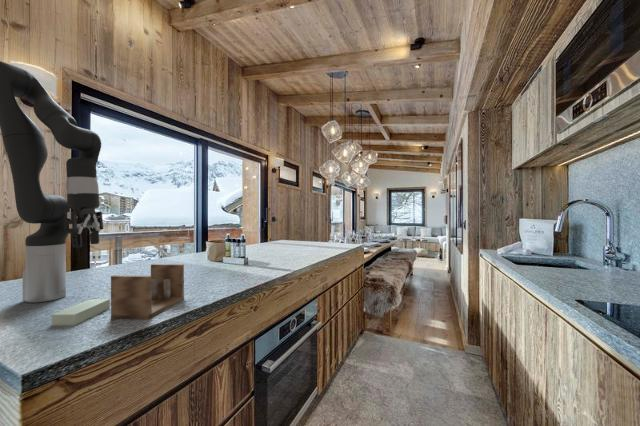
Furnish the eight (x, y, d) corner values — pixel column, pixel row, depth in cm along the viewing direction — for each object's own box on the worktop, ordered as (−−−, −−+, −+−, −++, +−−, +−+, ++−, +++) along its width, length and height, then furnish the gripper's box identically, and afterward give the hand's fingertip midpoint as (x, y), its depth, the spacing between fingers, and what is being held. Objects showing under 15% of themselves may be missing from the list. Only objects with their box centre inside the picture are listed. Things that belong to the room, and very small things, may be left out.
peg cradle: (111, 318, 73) (110, 276, 73) (153, 298, 90) (153, 264, 90) (148, 319, 72) (148, 276, 72) (183, 298, 89) (183, 264, 89)
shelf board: (51, 326, 69) (51, 314, 69) (90, 309, 81) (89, 299, 81) (74, 326, 69) (74, 314, 69) (109, 309, 81) (109, 299, 81)
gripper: (84, 194, 93) (87, 243, 93) (51, 191, 79) (55, 249, 79) (109, 193, 94) (112, 242, 94) (81, 190, 80) (85, 247, 80)
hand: (86, 245), depth 86 cm, fingers open, 8 cm apart
